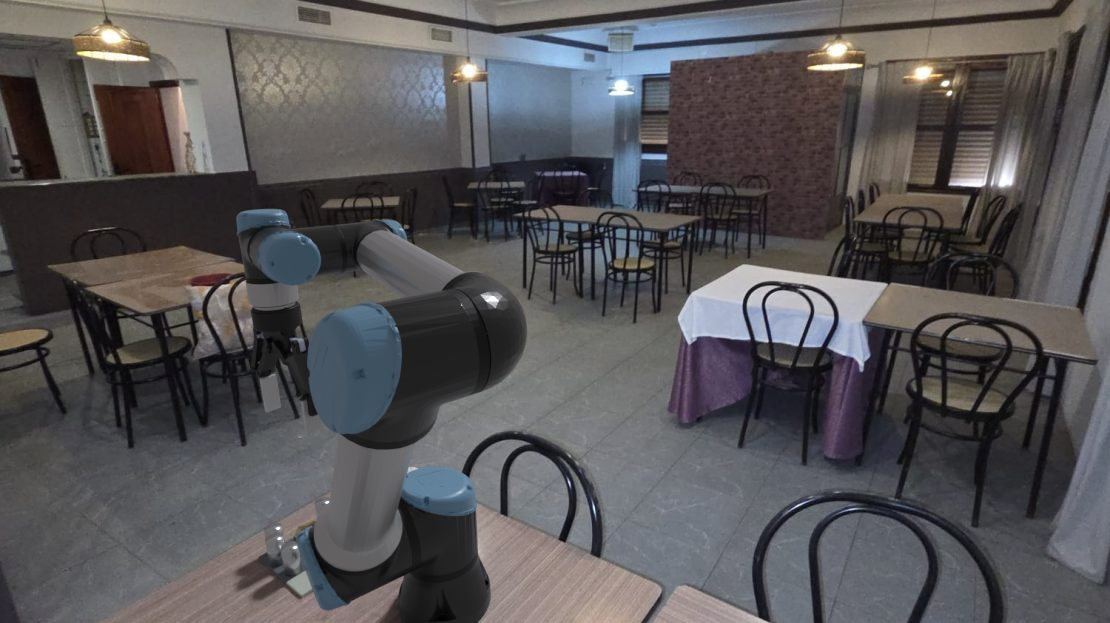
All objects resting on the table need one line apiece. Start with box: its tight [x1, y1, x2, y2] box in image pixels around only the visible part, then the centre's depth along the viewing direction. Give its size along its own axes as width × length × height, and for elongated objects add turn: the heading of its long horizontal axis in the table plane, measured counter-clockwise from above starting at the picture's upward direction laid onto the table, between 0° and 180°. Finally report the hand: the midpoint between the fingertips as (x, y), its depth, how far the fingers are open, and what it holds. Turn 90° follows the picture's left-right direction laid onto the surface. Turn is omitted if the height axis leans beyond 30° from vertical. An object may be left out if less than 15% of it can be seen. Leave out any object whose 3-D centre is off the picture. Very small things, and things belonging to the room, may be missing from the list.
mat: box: [258, 537, 313, 598], centre depth 109 cm, size 15×16×1 cm
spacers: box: [263, 496, 330, 577], centre depth 109 cm, size 10×15×5 cm
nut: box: [293, 520, 316, 541], centre depth 110 cm, size 6×5×3 cm
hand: (292, 420), depth 103 cm, fingers open, 13 cm apart
